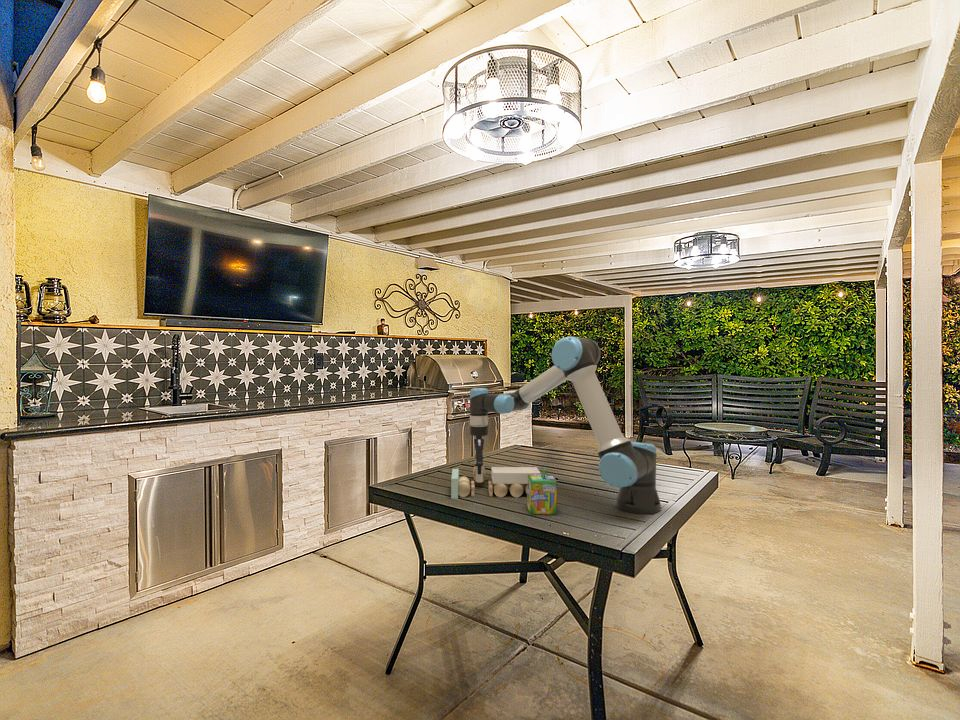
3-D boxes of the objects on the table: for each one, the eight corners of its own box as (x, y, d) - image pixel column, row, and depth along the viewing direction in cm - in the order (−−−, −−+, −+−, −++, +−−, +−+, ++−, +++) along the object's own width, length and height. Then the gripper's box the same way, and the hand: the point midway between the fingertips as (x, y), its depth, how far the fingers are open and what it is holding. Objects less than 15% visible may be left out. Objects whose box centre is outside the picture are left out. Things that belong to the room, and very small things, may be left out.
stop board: (457, 498, 181) (458, 478, 181) (451, 498, 181) (451, 478, 181) (458, 487, 197) (458, 468, 197) (452, 487, 197) (452, 468, 197)
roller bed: (539, 497, 184) (539, 484, 184) (456, 496, 183) (456, 483, 183) (534, 489, 195) (535, 476, 195) (457, 488, 194) (457, 476, 194)
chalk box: (526, 506, 173) (527, 464, 173) (552, 506, 174) (553, 464, 173) (529, 515, 164) (530, 470, 164) (557, 515, 164) (557, 471, 164)
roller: (485, 482, 197) (486, 470, 197) (473, 482, 197) (473, 470, 197) (484, 476, 208) (485, 464, 208) (472, 475, 208) (473, 464, 208)
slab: (540, 483, 185) (540, 473, 185) (492, 483, 184) (492, 472, 184) (536, 477, 195) (536, 467, 195) (491, 476, 194) (491, 466, 194)
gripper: (489, 429, 191) (489, 485, 191) (486, 421, 215) (486, 472, 215) (470, 429, 191) (470, 485, 191) (469, 421, 214) (469, 472, 214)
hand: (478, 478), depth 203 cm, fingers closed on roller, 11 cm apart
